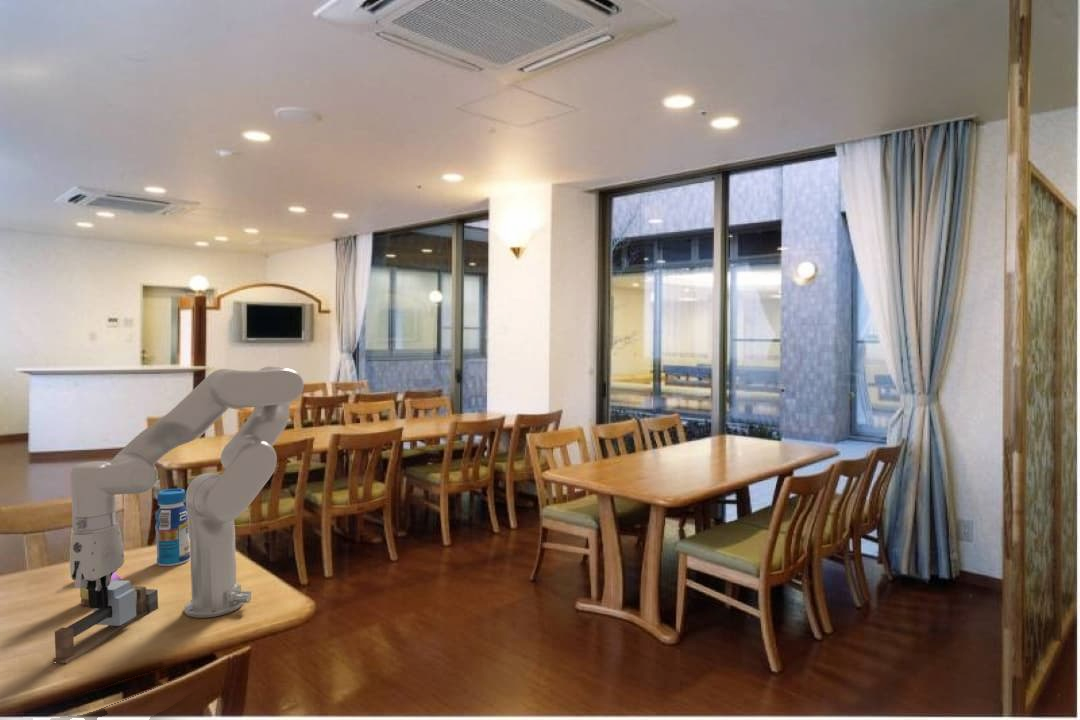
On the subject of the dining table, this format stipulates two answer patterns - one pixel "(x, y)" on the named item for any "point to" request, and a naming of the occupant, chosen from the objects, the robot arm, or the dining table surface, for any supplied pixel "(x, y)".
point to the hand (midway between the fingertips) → (98, 606)
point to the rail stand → (65, 636)
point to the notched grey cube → (120, 603)
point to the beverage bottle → (172, 528)
